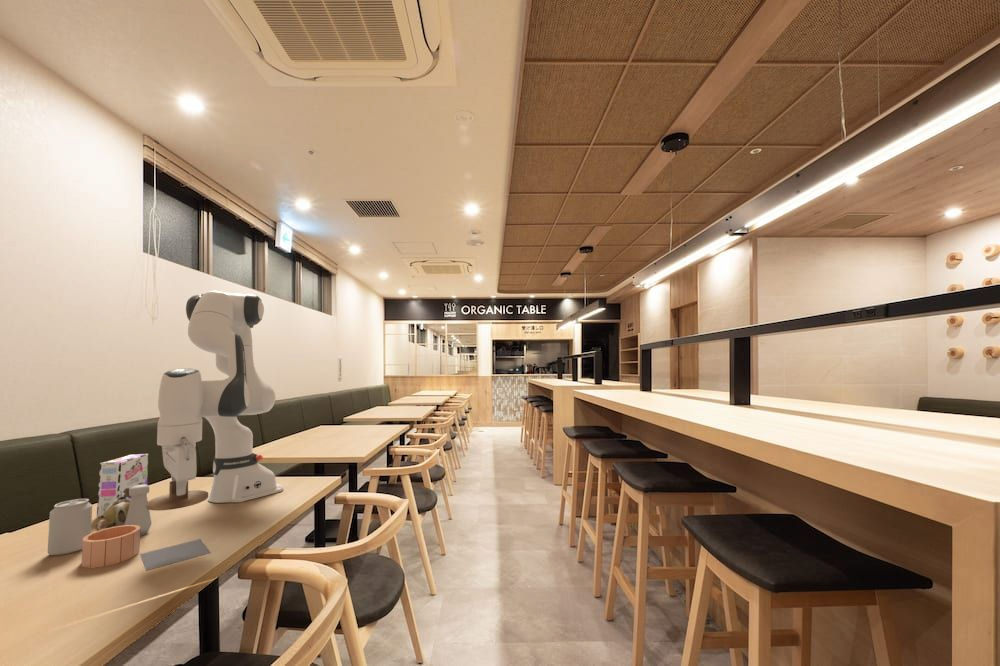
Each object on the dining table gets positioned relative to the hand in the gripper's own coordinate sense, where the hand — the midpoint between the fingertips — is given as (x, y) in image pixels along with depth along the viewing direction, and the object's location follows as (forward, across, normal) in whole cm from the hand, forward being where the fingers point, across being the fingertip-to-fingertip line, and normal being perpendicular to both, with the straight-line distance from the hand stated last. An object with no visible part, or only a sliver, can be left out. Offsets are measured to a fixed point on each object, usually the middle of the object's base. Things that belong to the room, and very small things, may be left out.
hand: (178, 492), depth 103 cm
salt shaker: (+15, +24, +5) cm, 28 cm away
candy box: (+16, +54, +6) cm, 57 cm away
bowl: (+14, +8, +11) cm, 20 cm away
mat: (+14, 0, 0) cm, 15 cm away
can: (+15, +22, +18) cm, 33 cm away
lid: (+2, 0, 0) cm, 2 cm away
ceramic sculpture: (+15, +35, +8) cm, 39 cm away
